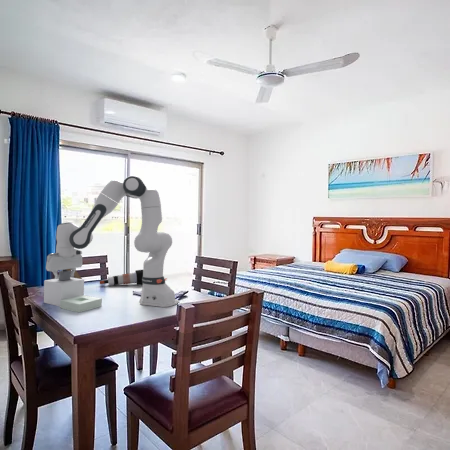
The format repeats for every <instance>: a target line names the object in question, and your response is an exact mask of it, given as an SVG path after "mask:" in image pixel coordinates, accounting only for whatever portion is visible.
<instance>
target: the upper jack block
mask: <svg viewBox="0 0 450 450" xmlns="http://www.w3.org/2000/svg"><path fill="white" fill-rule="evenodd" d="M43 288H44V289H43V303H44V304H47V305H51V306H57V307H60V300H64V299H68V298H73V297H77V296H81V295H85V279H84V278H82V279H78V278H75V277H73V276H72V277H71V276H70V280H68V281H59V279H55V278H51V279H45V280H44V281H43Z"/></svg>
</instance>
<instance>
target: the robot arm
mask: <svg viewBox="0 0 450 450" xmlns="http://www.w3.org/2000/svg"><path fill="white" fill-rule="evenodd" d="M123 197H129V198H132V199H139V201H140V208H141V226H140V229H139V232H138V234H137V235H136V236H135V238H134V241H133V243H134V244H133V245H134V247H135V249H136V251H137V252H141V253H144V254H145V253H148V255H147V258H146V259H145V260H144V261H143V267H142V268H143V269H142V270H143V276H142V283H143V284H142V287H141V288H142V289H141V293H140V298H139V305H142V306H152V307H161V308H167V307H173V306H175V305H176V306H177V303H178V304H179V303H180V300H178V299H176V295H175V294H176V293H175V292H174V290H173V289H172V288H171V287H170V286H169V285H168V284H167V283H166V281H167V280H168V277H167V278H165V276H164V265H165V260H166V259H165V258H166V257H167V256H166V255H167V253H168V250H169V249H170V248H171V247H172V245H173V238H172V236H171V235H170V234H169V233H166V232H162V231H160V232H159V231H158V229H159V226H160V225H161V223H162V222H163V214H162V204H161V199H160V198H161V197H160V195H159V192H158V190H156V189H154V188H152V187H151V188H147V186H146V184H145V183H144V181H143V180H142V178H140V177H138V176H137V175H129V176H127V177H126V178H125V179H124V180H123V181H120V180H118V179H112V180H110V181H109V182H108V183H107V184H106V185H105V186H104V187H103V188H102V190H101V191H100V193H99V194H98V196H97V198H96V199H95V202H94V205H93V207H92V209H91V211H90V213H89V215H88V216H87V218H86V219H85V220H84V222H83V223H82V224H81V226H78V225H76V224H75V223H73V222H63V223H62V222H61V223H60V224H58V225H57V229H56V233H55V234H56V235H55V236H56V246H55V252H53V253H52V252H51V253H49V254H48V255H47V256H46V265H45V270H46V271H47V272H52V273H53V275H54V279H59V271H62V270H65V269H71V273H70V277H72V278H73V277H74V272H75V271H77V268H78V269H79V268H82V267H83V256H82V254H83V251H82V250H83V249H85V248H87V246H89V245H90V244H91V243H92V241H93V238H94V236H93V232H94V231H95V229H96V227H97V226H98V225H99V224H100V222H101V221H102V219H103V218H105V217H106V216H108V215H110V214H111V213H112V212H113V211H114V210H115V209H116V207H117V206H118V204H120V202H121V200H122V199H123Z"/></svg>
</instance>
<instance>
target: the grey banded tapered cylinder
mask: <svg viewBox="0 0 450 450" xmlns="http://www.w3.org/2000/svg"><path fill="white" fill-rule="evenodd" d="M142 276H143V269H137V270H135V272H130V273H123V274H119V275H118V274H117V275H113V276H107V279H104V280H99V285H106V284H108V287H111V286H121V285H125V286H126V285H130V284H136V285H138V286H139V285H143V283H142Z"/></svg>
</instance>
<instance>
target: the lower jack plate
mask: <svg viewBox="0 0 450 450" xmlns="http://www.w3.org/2000/svg"><path fill="white" fill-rule="evenodd" d="M102 300H103V299H102V298H101V297H95V296H90V295H85V294H84V295H81V296H77V297H73V298H68V299H64V300H60V306H59V307H60V309H61V310H62V309H63V310H67V311H72V312H75V313H82V312H86V311H89V310H93V309H96V308H99V307H102V303H103V301H102Z"/></svg>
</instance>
